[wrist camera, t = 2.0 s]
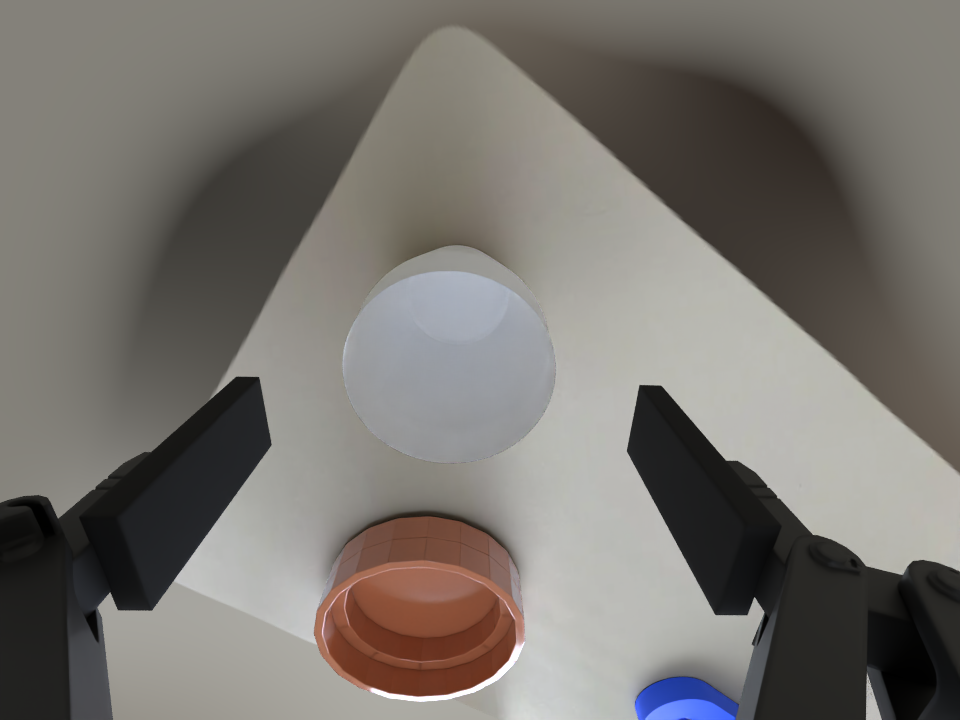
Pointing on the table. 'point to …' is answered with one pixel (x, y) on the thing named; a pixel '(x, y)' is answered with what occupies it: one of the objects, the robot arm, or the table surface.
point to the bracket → (684, 701)
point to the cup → (450, 357)
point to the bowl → (421, 610)
